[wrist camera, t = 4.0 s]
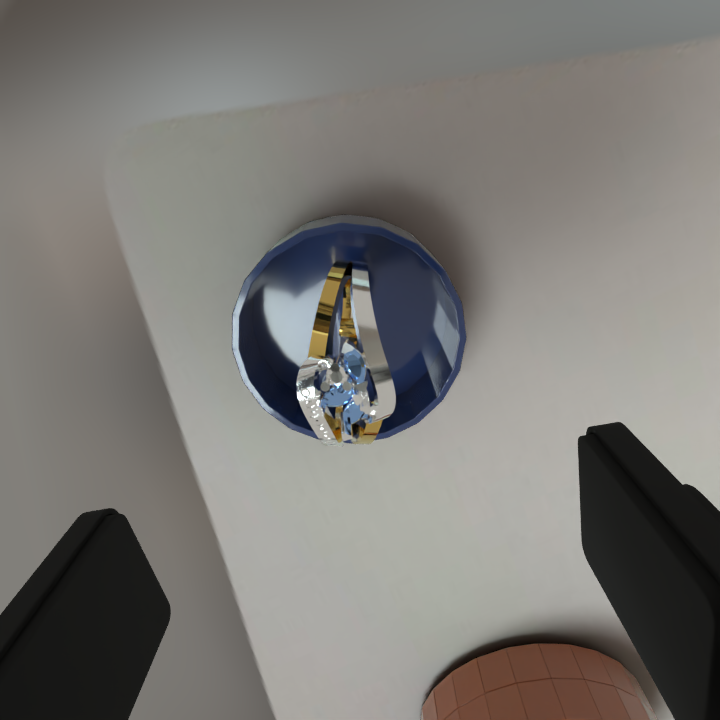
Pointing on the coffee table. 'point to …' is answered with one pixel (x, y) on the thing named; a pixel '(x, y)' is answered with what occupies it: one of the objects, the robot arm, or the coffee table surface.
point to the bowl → (539, 687)
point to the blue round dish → (300, 302)
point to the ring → (346, 363)
